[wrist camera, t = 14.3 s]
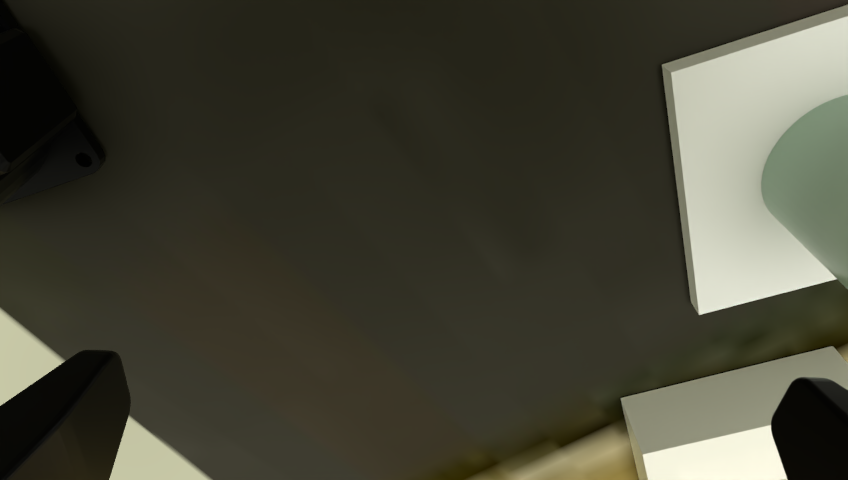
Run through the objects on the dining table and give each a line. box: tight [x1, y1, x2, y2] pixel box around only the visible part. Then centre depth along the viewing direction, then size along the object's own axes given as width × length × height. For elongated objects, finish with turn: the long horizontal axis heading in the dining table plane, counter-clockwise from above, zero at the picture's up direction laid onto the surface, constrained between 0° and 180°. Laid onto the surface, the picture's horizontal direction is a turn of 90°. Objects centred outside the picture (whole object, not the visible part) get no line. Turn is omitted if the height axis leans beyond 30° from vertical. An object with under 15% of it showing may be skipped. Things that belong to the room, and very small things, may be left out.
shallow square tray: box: [620, 346, 848, 480], centre depth 28 cm, size 9×9×3 cm
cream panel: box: [662, 5, 848, 315], centre depth 21 cm, size 10×10×1 cm
